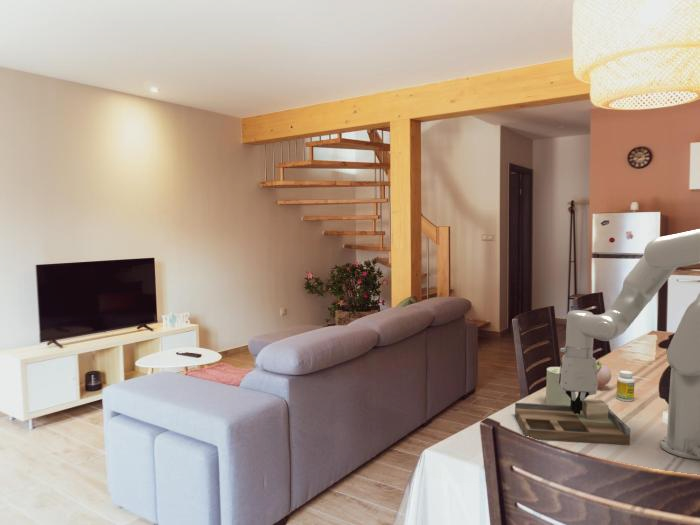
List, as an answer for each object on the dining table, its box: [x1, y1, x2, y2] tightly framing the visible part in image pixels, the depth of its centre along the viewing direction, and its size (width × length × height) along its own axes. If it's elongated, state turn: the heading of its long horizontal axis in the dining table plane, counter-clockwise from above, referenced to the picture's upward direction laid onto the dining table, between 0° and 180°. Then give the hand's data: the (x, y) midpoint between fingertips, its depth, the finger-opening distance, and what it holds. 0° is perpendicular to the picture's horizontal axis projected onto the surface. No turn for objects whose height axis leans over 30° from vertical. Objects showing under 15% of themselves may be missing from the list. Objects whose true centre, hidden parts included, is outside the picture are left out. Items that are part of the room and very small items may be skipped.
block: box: [580, 397, 610, 421], centre depth 161 cm, size 6×6×4 cm
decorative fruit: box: [596, 361, 612, 389], centre depth 198 cm, size 9×8×10 cm
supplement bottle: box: [616, 370, 635, 402], centre depth 186 cm, size 5×5×10 cm
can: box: [544, 366, 571, 405], centre depth 179 cm, size 9×9×12 cm
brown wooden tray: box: [514, 402, 631, 446], centre depth 157 cm, size 19×27×4 cm
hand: (576, 412), depth 161 cm, fingers closed
